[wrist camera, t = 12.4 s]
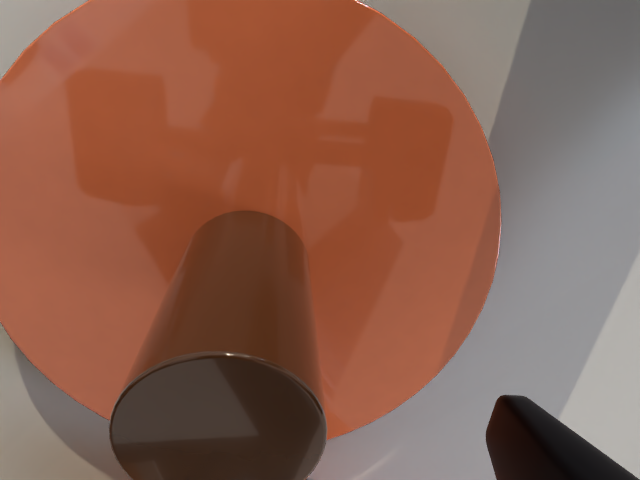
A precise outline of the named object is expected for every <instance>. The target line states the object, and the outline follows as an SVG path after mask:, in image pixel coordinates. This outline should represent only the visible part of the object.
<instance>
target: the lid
mask: <svg viewBox="0 0 640 480" xmlns="http://www.w3.org/2000/svg"><path fill="white" fill-rule="evenodd" d="M501 224H502V220H501V203H500V189H499V184H498V180H497V175H496V170H495V165H494V160H493V157H492V154H491V151H490V148H489V146H488V143H487V140H486V137H485V135H484V132H483V129H482V126H481V125H480V123H479V121H478V119H477V117H476V115H475V113H474V112H473V110H472V108H471V106H470V104H469V102H468V101H467V99H466V97H465V95H464V94H463V92H462V91H461V90H460V88H459V87H458V86H457V84H456V83H455V82H454V80H453V79H452V78H451V76H450V75H449V74H448V72H447V71H446V70H445V68H444V67H443V66H442V64H441V63H440V62H439V61H438V60H437V59H436V58H435V57H434V56H433V55H432V54H431V53H430V52H429V51H428V50H427V49H426V48H425V47H423V46H422V45H421V44H420V43H419V42H418V41H417V40H416V39H415V38H414V37H413V36H412V35H410V34H409V33H408V32H406V31H405V30H404V29H402V28H401V27H400V26H398V25H397V24H396V23H394V22H393V21H392V20H390V19H389V18H387V17H386V16H385V15H383V14H382V13H380V12H379V11H377V10H375V9H373V8H371V7H369V6H367V5H365V4H364V3H362V2H360V1H358V0H88V1H87V2H85V3H84V4H82V5H80V6H79V7H77V8H76V9H74V10H73V11H71V12H70V13H68V14H67V15H65V16H63V17H62V18H60V19H59V20H57V21H56V22H54V23H53V24H52V25H51V26H50V27H49V28H48V29H46V30H45V31H44V32H43V33H42V34H41V35H40V36H39V37H38V38H37V39H35V40H34V41H33V42H32V43H31V44H30V45H29V46H28V47H27V48H26V49H24V51H23V52H22V53H21V54H20V56H19V57H18V58H17V60H16V61H15V62H14V63H13V65H12V66H11V67H10V68H9V70H8V71H7V72H6V74H5V75H4V76H3V77H2V79H1V80H0V323H1V324H2V326H3V327H4V329H5V330H6V332H7V333H8V335H9V337H10V338H11V339H12V341H13V342H14V343H15V344H16V345H17V347H18V348H19V349H20V350H21V351H22V353H23V354H24V355H25V356H26V357H27V359H28V360H29V361H30V362H31V363H32V364H33V365H34V366H35V367H36V368H37V369H38V370H39V371H40V372H41V373H42V374H43V375H45V376H46V377H47V378H48V379H49V380H50V381H51V382H52V383H53V384H54V385H56V386H57V387H58V388H60V389H61V390H62V391H64V392H65V393H66V394H67V395H69V396H70V397H71V398H73V399H74V400H75V401H77V402H78V403H80V404H82V405H83V406H85V407H87V408H88V409H90V410H92V411H93V412H95V413H97V414H98V415H100V416H102V417H103V418H105V419H108V420H110V423H109V437H110V442H111V447H112V450H113V453H114V455H115V458H116V460H117V461H118V463H119V465H120V466H121V468H122V469H123V470H124V472H125V473H126V474H127V475H128V476H129V477H130V478H131V479H132V480H305V479H306V478H307V477H308V476H309V475H310V474H311V473H312V471H313V470H314V469H315V467H316V466H317V464H318V462H319V461H320V458H321V456H322V454H323V451H324V449H325V444H326V440H328V439H331V438H334V437H337V436H340V435H343V434H346V433H349V432H351V431H353V430H355V429H358V428H360V427H362V426H364V425H367V424H369V423H371V422H373V421H375V420H376V419H378V418H380V417H382V416H383V415H385V414H387V413H389V412H390V411H392V410H394V409H395V408H397V407H398V406H400V405H401V404H402V403H404V402H405V401H407V400H408V399H409V398H411V397H412V396H414V395H415V394H416V393H417V392H419V391H420V390H421V389H422V388H423V387H424V386H425V385H426V384H427V383H429V382H430V381H431V380H432V379H433V378H434V377H435V376H436V375H437V374H438V373H439V372H440V371H441V370H442V368H443V367H444V366H445V365H446V364H447V363H448V362H449V361H450V359H451V358H452V357H453V356H454V355H455V353H456V352H457V351H458V349H459V348H460V346H461V345H462V343H463V342H464V340H465V339H466V338H467V336H468V335H469V333H470V332H471V330H472V328H473V326H474V324H475V322H476V320H477V318H478V316H479V314H480V312H481V310H482V309H483V306H484V303H485V301H486V298H487V295H488V293H489V290H490V287H491V284H492V282H493V278H494V273H495V269H496V264H497V260H498V255H499V248H500V236H501Z"/></svg>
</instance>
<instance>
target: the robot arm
mask: <svg viewBox="0 0 640 480" xmlns="http://www.w3.org/2000/svg"><path fill="white" fill-rule="evenodd" d="M486 443H487V448H488V451H489V455H490V458H491V461H492V465H493V468H494V472H495V475H496V479H497V480H639V479H638V478H637V477H635V476H634V475H633V474H631V473H630V472H629V471H627V470H626V469H624V468H623V467H622V466H620V465H619V464H618V463H616V462H615V461H613V460H612V459H611V458H609V457H608V456H607V455H605V454H604V453H602V452H601V451H600V450H598V449H597V448H596V447H594V446H593V445H591V444H590V443H589V442H587V441H586V440H585V439H583V438H582V437H581V436H579V435H578V434H576V433H575V432H574V431H572V430H571V429H570V428H568V427H567V426H565V425H564V424H563V423H561V422H560V421H559V420H557V419H556V418H554V417H553V416H552V415H550V414H549V413H548V412H546V411H545V410H543V409H542V408H541V407H539V406H538V405H537V404H535V403H534V402H533V401H531V400H530V399H528V398H527V397H524V396H517V395H503V396H500V397H499V398H498V399H497V401H496V404H495V407H494V410H493V412H492V415H491V418H490V421H489V424H488V427H487V431H486Z"/></svg>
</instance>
